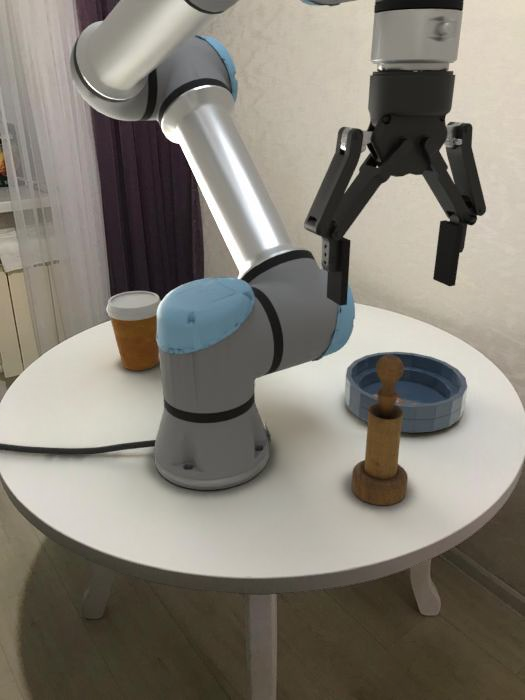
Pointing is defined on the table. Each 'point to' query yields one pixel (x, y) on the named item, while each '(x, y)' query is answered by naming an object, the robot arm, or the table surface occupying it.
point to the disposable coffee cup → (135, 328)
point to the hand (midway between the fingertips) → (392, 291)
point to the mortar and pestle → (383, 442)
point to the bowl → (410, 390)
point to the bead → (399, 400)
